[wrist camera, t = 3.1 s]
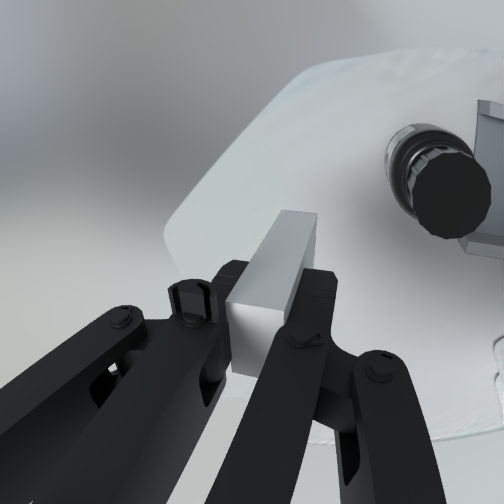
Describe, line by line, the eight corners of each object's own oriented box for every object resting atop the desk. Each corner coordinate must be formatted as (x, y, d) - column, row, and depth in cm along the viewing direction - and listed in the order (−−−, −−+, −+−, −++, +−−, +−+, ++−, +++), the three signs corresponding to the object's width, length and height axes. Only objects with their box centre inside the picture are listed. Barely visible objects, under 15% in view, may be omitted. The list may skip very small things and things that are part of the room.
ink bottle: (381, 117, 29) (396, 128, 19) (458, 121, 26) (506, 136, 16) (384, 205, 33) (395, 255, 23) (457, 207, 30) (493, 257, 20)
